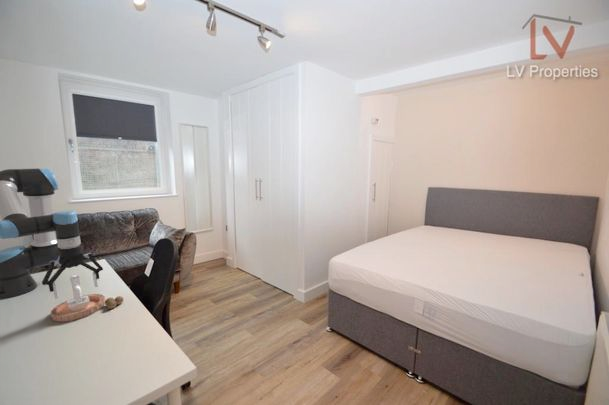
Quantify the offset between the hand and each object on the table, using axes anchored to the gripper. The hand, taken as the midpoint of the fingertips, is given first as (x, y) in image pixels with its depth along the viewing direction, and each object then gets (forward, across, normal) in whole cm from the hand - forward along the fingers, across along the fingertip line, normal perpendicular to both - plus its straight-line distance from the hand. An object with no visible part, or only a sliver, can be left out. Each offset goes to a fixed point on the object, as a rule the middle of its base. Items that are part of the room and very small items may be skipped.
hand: (76, 291), depth 115 cm
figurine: (+8, 0, 0) cm, 8 cm away
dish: (+9, 0, 0) cm, 9 cm away
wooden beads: (+9, +11, -8) cm, 16 cm away
